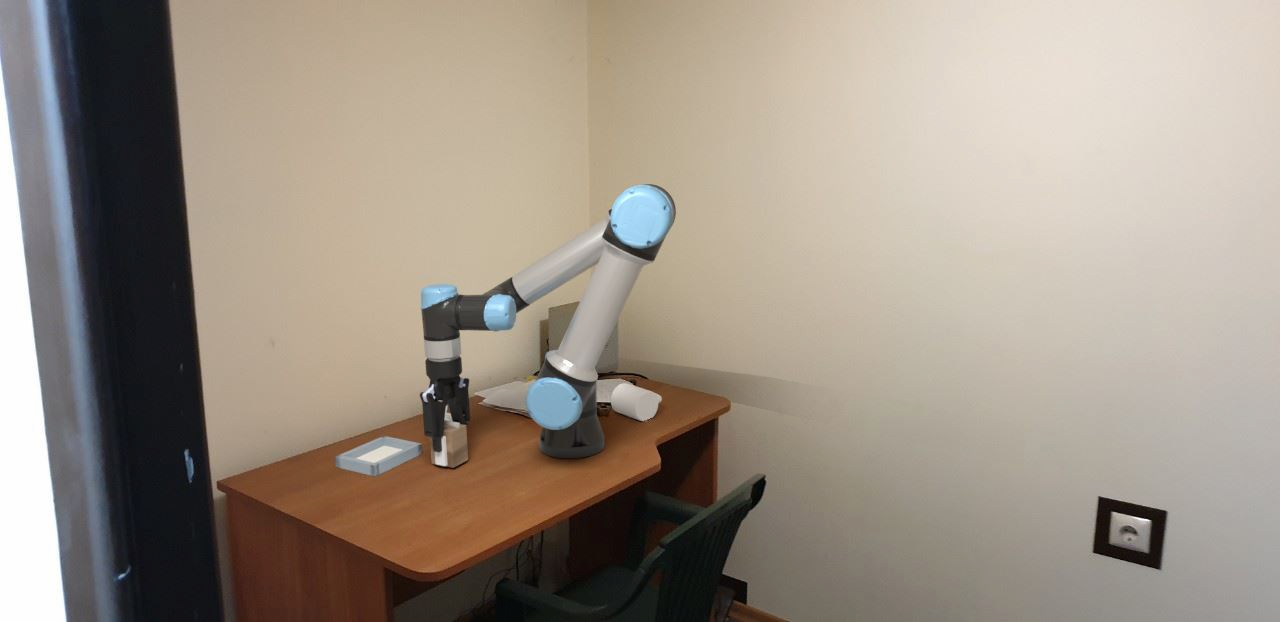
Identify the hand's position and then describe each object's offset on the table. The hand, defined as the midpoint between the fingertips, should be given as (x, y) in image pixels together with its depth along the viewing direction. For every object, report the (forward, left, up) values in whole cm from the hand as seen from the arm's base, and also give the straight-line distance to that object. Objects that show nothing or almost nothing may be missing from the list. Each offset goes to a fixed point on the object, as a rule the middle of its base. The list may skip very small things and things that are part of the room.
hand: (450, 459), depth 169 cm
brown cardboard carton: (0, 0, 0) cm, 0 cm away
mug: (-22, -49, -1) cm, 54 cm away
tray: (+16, +5, -1) cm, 16 cm away
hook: (+16, -16, -1) cm, 22 cm away
